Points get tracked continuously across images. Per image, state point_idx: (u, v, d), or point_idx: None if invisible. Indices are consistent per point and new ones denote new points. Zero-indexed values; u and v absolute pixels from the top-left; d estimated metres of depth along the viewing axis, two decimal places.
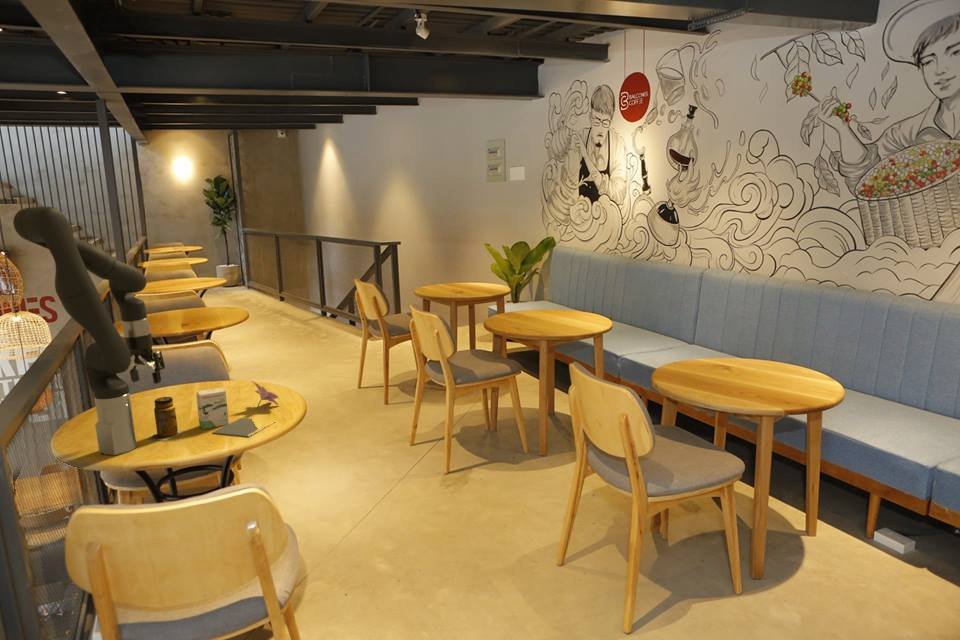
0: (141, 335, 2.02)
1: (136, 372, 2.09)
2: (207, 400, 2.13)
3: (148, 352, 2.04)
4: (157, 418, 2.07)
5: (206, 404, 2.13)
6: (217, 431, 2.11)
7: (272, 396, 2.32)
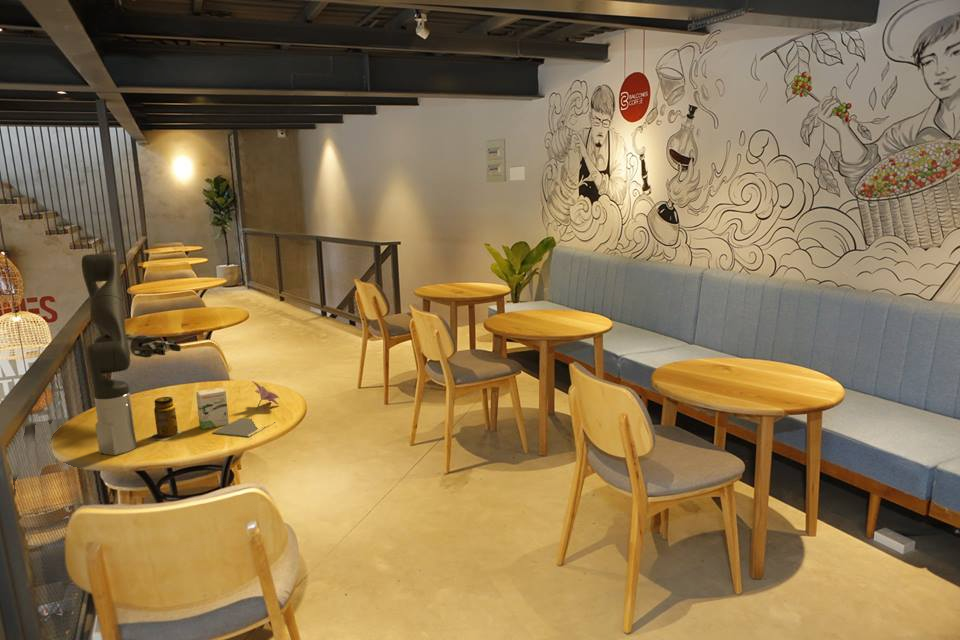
0: None
1: None
2: (207, 400, 2.13)
3: None
4: (157, 418, 2.07)
5: (206, 404, 2.13)
6: (217, 431, 2.11)
7: (272, 395, 2.33)
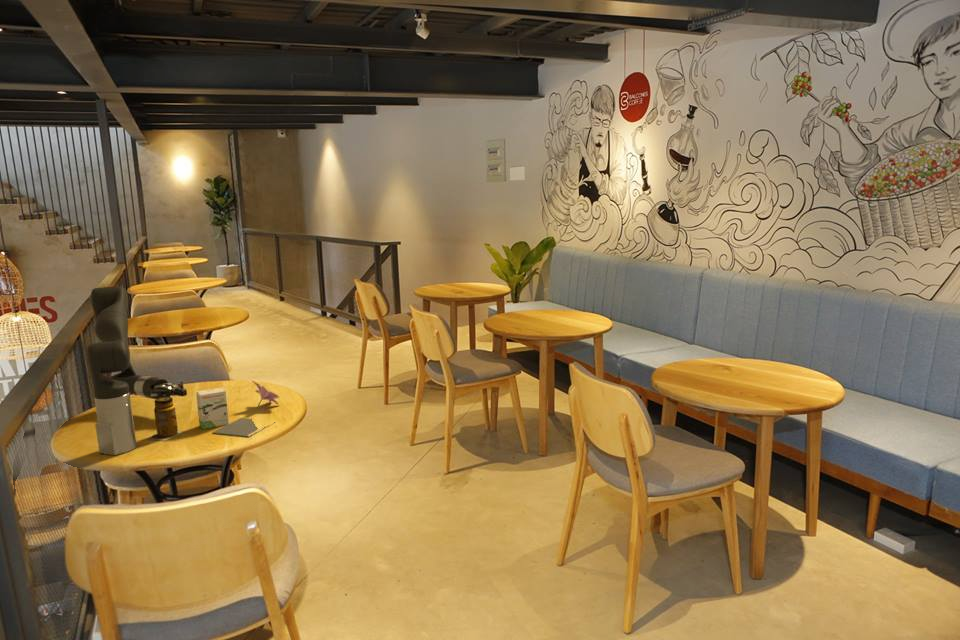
0: None
1: None
2: (207, 400, 2.13)
3: None
4: (157, 418, 2.07)
5: (206, 404, 2.13)
6: (217, 431, 2.11)
7: (272, 395, 2.33)
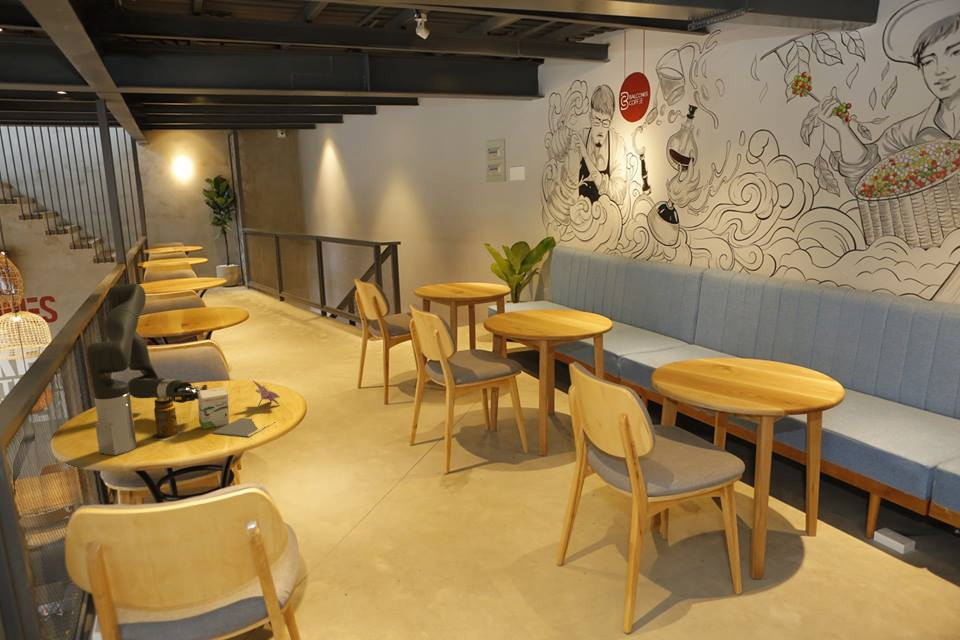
0: None
1: None
2: (209, 403, 2.11)
3: None
4: (157, 418, 2.07)
5: (208, 406, 2.12)
6: (217, 431, 2.11)
7: (273, 395, 2.33)
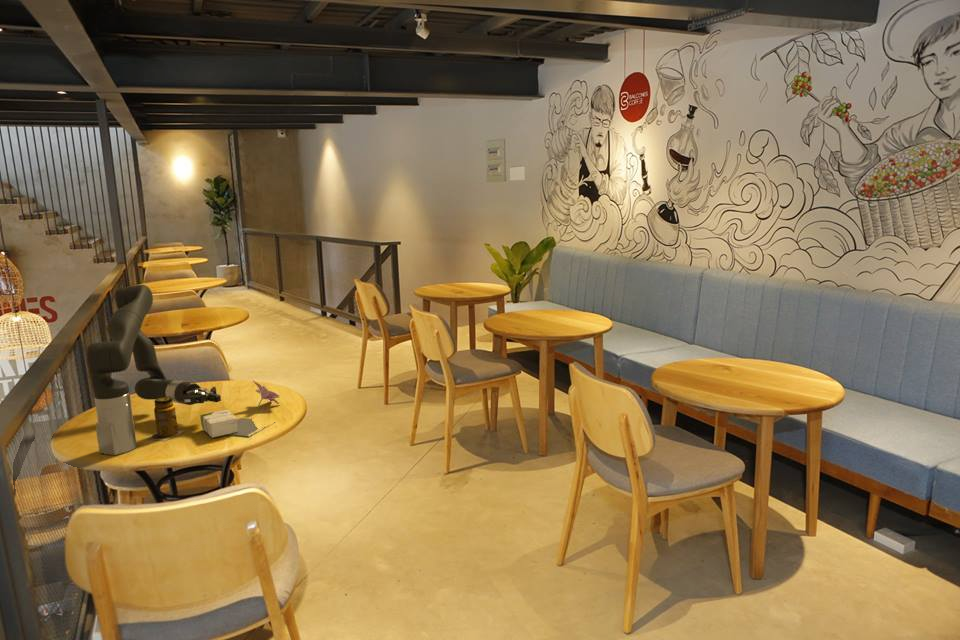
0: None
1: None
2: None
3: None
4: (157, 418, 2.07)
5: None
6: None
7: (273, 395, 2.33)
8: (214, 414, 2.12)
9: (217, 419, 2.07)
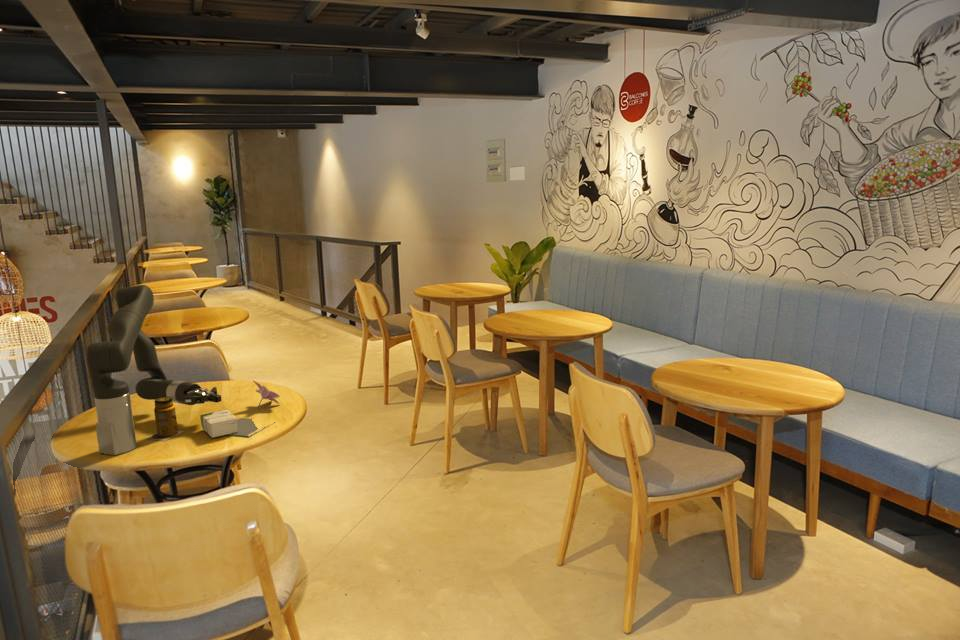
0: None
1: None
2: None
3: (207, 389, 2.23)
4: (157, 418, 2.07)
5: None
6: None
7: (273, 395, 2.33)
8: (214, 414, 2.12)
9: (217, 419, 2.07)
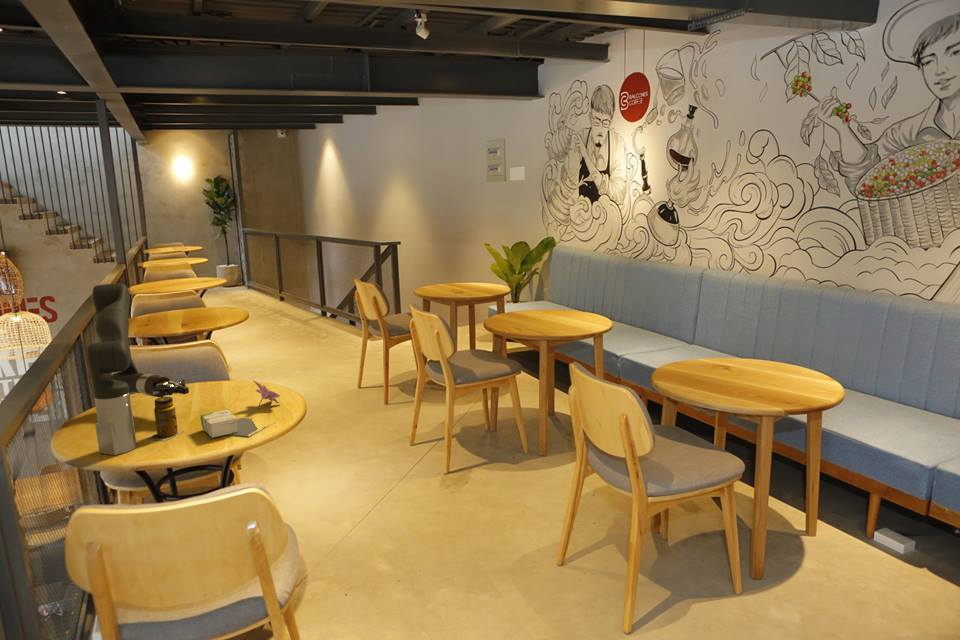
0: None
1: None
2: None
3: None
4: (157, 418, 2.07)
5: None
6: None
7: (273, 395, 2.34)
8: (214, 414, 2.12)
9: (217, 419, 2.07)
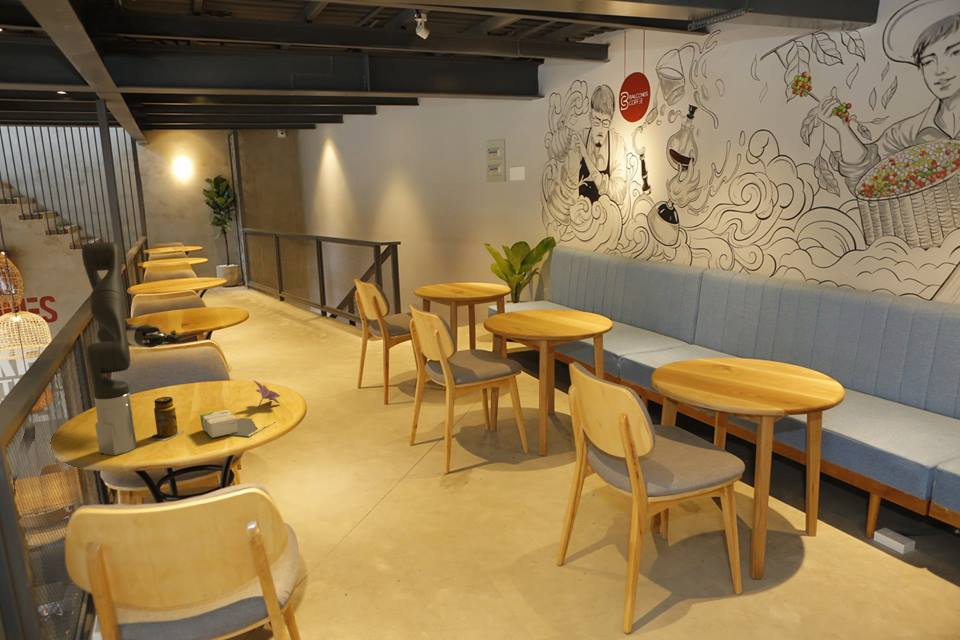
0: None
1: None
2: None
3: None
4: (157, 418, 2.07)
5: None
6: None
7: (273, 394, 2.34)
8: (214, 414, 2.12)
9: (217, 419, 2.07)
